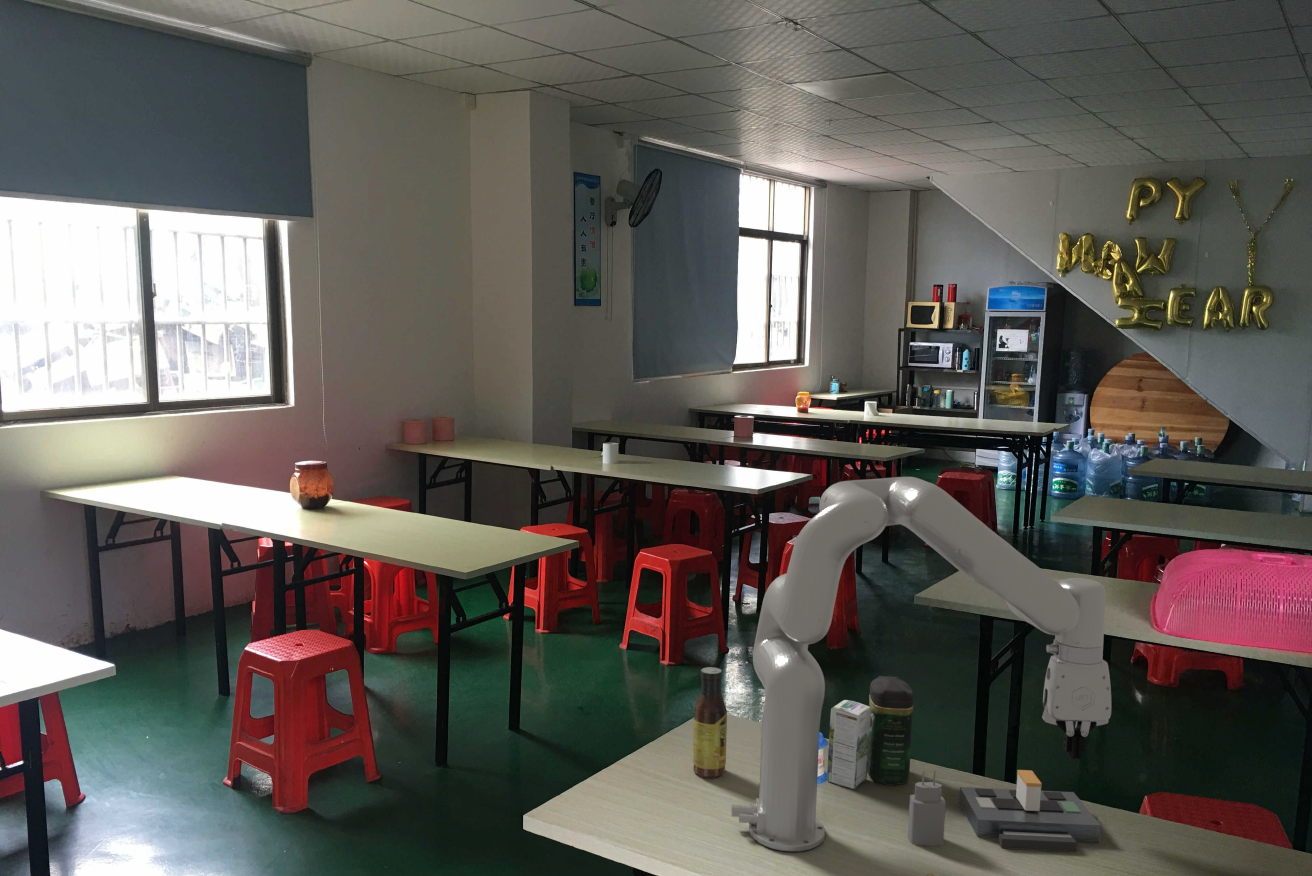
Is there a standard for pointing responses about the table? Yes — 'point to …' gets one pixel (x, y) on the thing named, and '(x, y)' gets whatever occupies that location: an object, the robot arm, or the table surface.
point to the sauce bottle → (710, 726)
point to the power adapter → (927, 814)
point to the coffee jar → (890, 730)
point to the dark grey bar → (1037, 841)
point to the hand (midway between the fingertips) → (1073, 755)
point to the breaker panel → (1027, 814)
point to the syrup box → (848, 744)
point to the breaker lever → (1028, 790)
